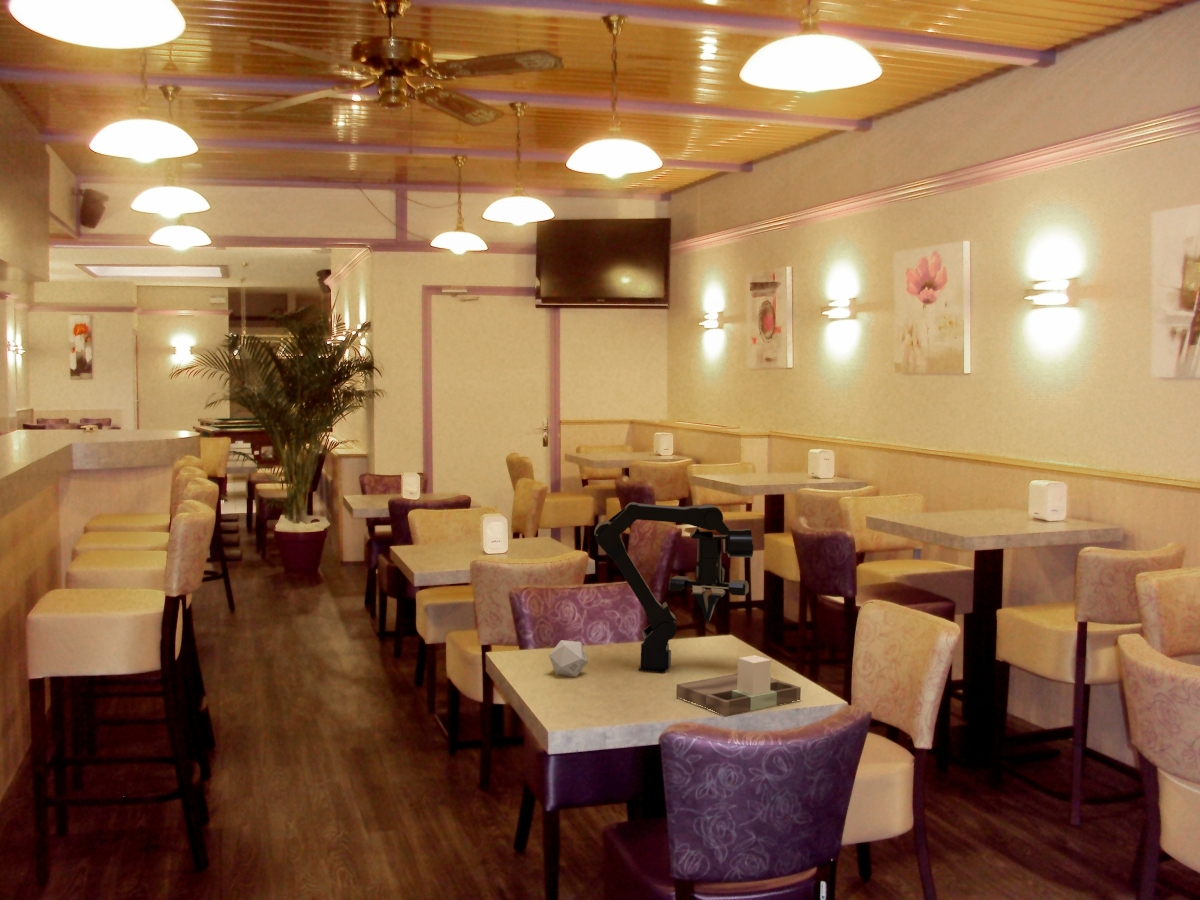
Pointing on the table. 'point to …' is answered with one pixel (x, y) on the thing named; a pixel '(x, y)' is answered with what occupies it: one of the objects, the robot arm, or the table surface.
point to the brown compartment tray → (735, 695)
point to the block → (754, 675)
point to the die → (568, 658)
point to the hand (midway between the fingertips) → (707, 620)
